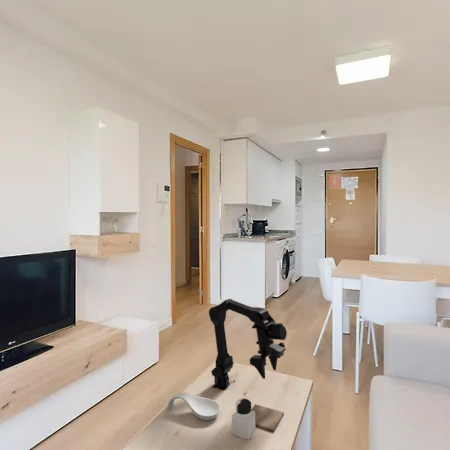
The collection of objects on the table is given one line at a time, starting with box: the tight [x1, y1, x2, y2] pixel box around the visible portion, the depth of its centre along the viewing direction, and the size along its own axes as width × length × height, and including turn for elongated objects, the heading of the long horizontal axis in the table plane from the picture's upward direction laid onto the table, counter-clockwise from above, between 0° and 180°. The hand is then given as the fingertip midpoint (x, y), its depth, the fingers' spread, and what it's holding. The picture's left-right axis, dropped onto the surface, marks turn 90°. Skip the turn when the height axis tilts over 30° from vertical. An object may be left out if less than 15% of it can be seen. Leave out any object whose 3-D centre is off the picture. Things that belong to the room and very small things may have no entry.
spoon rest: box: [166, 392, 222, 421], centre depth 136 cm, size 24×12×7 cm, turn 72°
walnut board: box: [251, 403, 285, 433], centre depth 131 cm, size 13×12×1 cm
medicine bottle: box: [231, 398, 256, 441], centre depth 123 cm, size 7×7×12 cm
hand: (269, 374), depth 139 cm, fingers open, 9 cm apart
